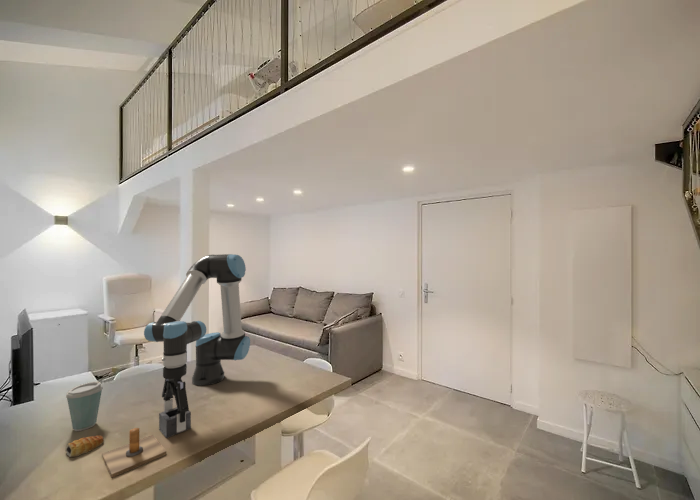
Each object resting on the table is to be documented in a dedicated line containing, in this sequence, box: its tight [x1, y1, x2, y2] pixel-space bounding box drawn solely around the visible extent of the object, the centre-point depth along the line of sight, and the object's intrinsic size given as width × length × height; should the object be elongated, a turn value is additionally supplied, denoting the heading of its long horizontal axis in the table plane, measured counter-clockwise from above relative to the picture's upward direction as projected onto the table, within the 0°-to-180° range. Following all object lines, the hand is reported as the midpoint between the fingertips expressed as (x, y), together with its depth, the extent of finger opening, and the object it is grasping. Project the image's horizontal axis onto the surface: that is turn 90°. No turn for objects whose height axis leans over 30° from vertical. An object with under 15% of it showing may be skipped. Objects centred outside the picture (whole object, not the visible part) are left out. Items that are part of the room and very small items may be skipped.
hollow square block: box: [158, 406, 192, 439], centre depth 113 cm, size 8×8×6 cm
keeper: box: [101, 427, 167, 478], centre depth 98 cm, size 14×14×8 cm
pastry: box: [65, 435, 105, 458], centre depth 102 cm, size 9×7×4 cm
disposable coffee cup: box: [65, 380, 103, 432], centre depth 116 cm, size 11×11×15 cm
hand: (174, 424), depth 112 cm, fingers open, 13 cm apart
